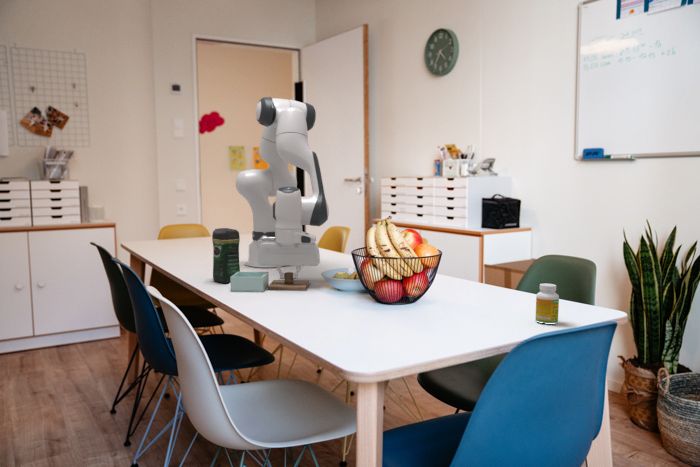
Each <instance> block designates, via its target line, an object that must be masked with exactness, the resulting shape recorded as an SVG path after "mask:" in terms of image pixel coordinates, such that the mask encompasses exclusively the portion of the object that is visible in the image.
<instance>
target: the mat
mask: <svg viewBox="0 0 700 467" xmlns="http://www.w3.org/2000/svg"><path fill="white" fill-rule="evenodd" d="M311 284H312V283H311V282H309V284H308V286H307V288H306V290H268V287H267V288H266V291H271V292H272V291H280V292H282V291H283V292H286V291H287V292H288V291H289V292H293V291H294V292H307V291H308V289H309V288H310V286H311Z"/></svg>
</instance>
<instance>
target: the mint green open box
mask: <svg viewBox="0 0 700 467" xmlns="http://www.w3.org/2000/svg"><path fill="white" fill-rule="evenodd" d="M269 277H270V276H269V271H240V272H237V273H235V274H234V275H232V276H231V277H230V281H231V283H230V292H231V293H236V292H237V293H264V292H265V291H266V290H267V288H268V286H269V285H270V284H269V281H270V280H269Z"/></svg>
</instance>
